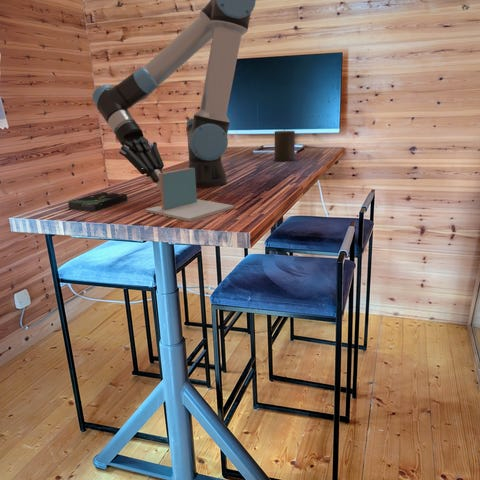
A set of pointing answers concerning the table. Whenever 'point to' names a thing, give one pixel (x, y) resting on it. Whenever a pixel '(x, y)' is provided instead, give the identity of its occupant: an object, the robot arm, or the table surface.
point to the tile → (177, 188)
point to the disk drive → (97, 201)
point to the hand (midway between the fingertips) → (166, 189)
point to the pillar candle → (284, 145)
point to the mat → (192, 210)
